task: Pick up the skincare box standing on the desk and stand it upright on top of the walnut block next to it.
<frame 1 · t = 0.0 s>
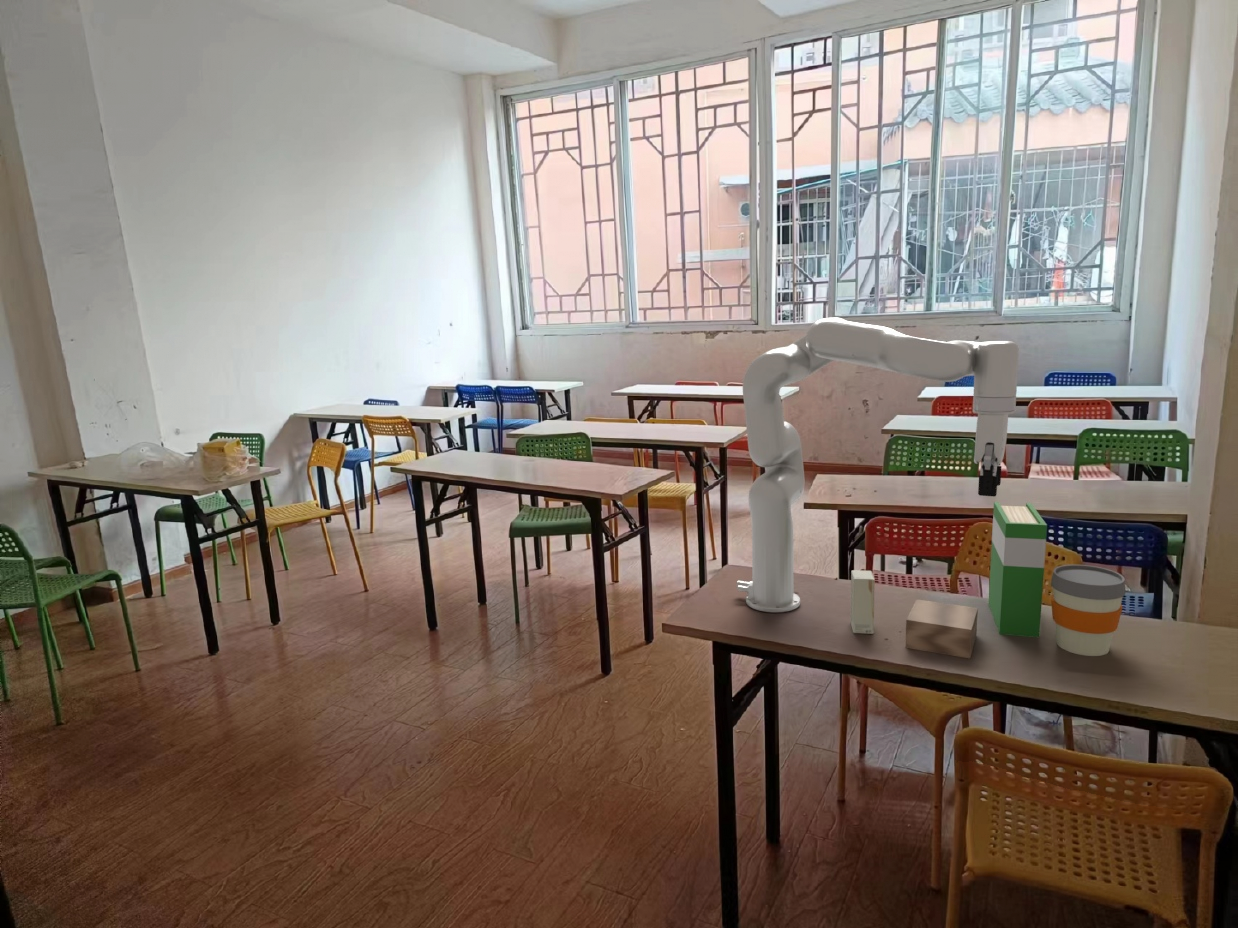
hand: (989, 490, 153), 31 cm above the table, tool pointing down, fingers open, 9 cm apart
walnut block: (941, 641, 158), on the table
hardback book: (1012, 619, 167), on the table
reusable coffee cup: (1082, 646, 153), on the table
skincare box: (861, 629, 166), on the table
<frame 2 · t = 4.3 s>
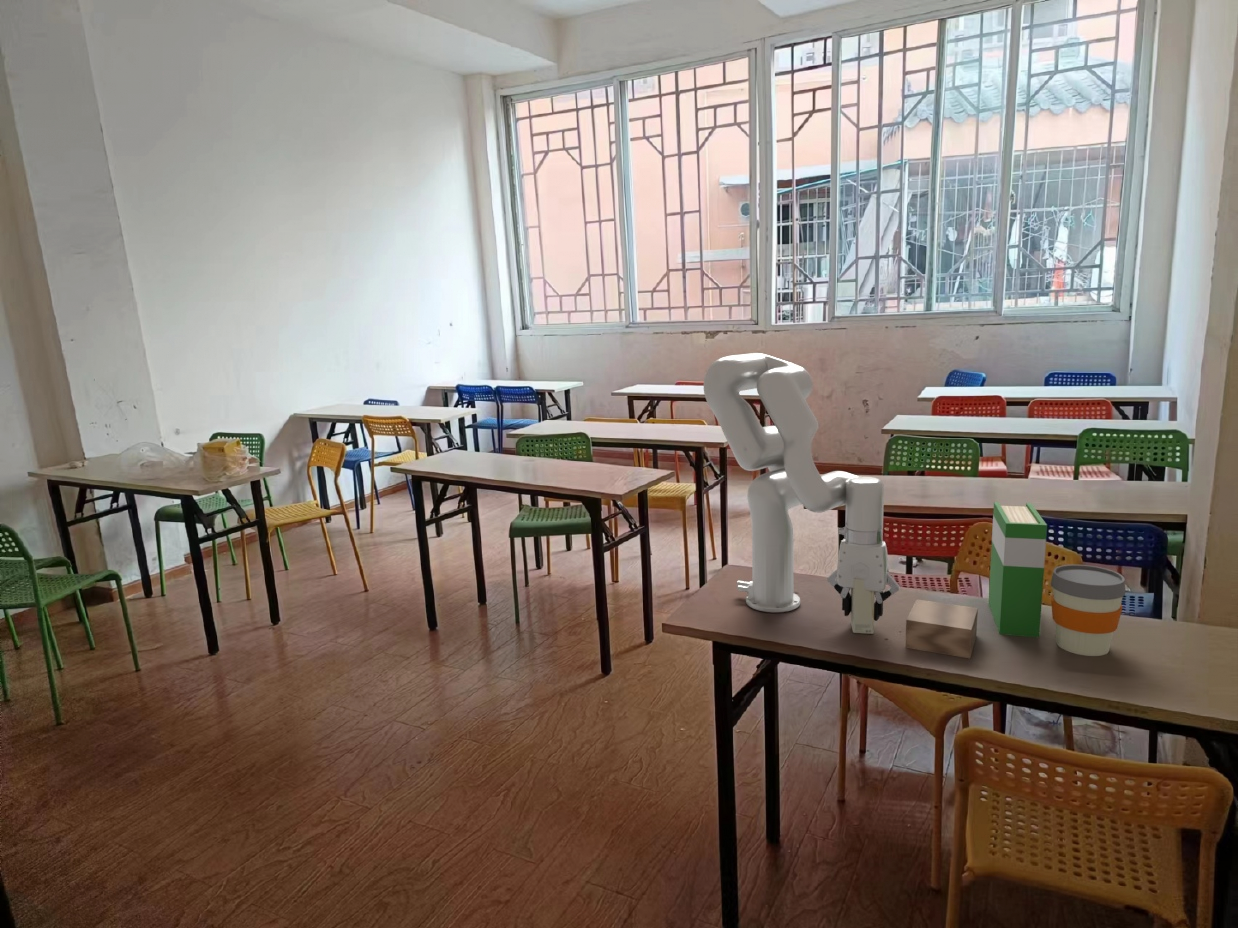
hand: (862, 615, 165), 3 cm above the table, tool pointing down, fingers closed on skincare box, 5 cm apart
skincare box: (861, 628, 166), on the table, touching gripper
everything else where it was.
when the fingers open (10 cm above the table, at t = 9.7 s): skincare box stays where it is, resting on walnut block.
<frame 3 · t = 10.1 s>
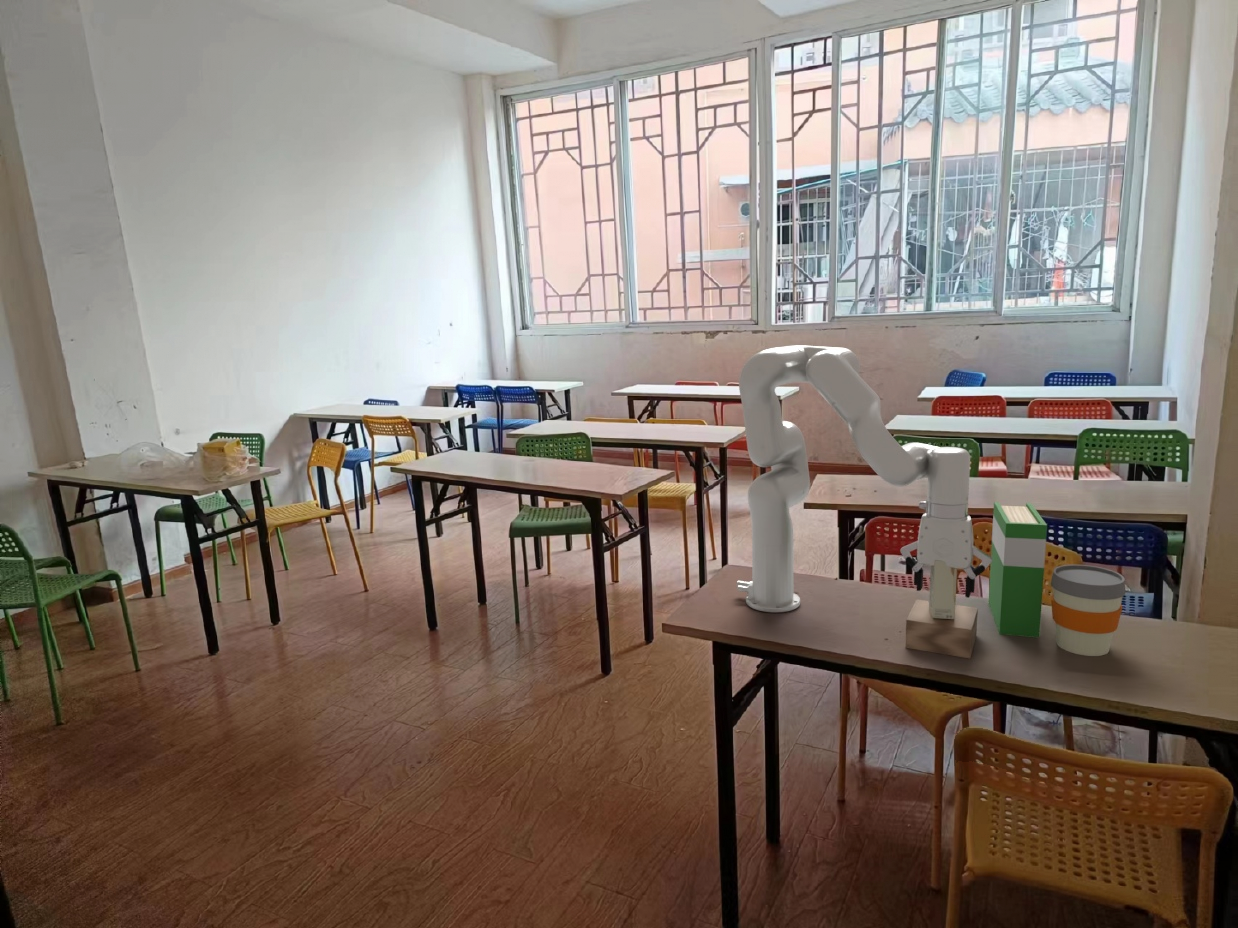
hand: (943, 591, 156), 11 cm above the table, tool pointing down, fingers open, 8 cm apart
skincare box: (941, 614, 157), point 6 cm above the table, touching walnut block
everything else where it was.
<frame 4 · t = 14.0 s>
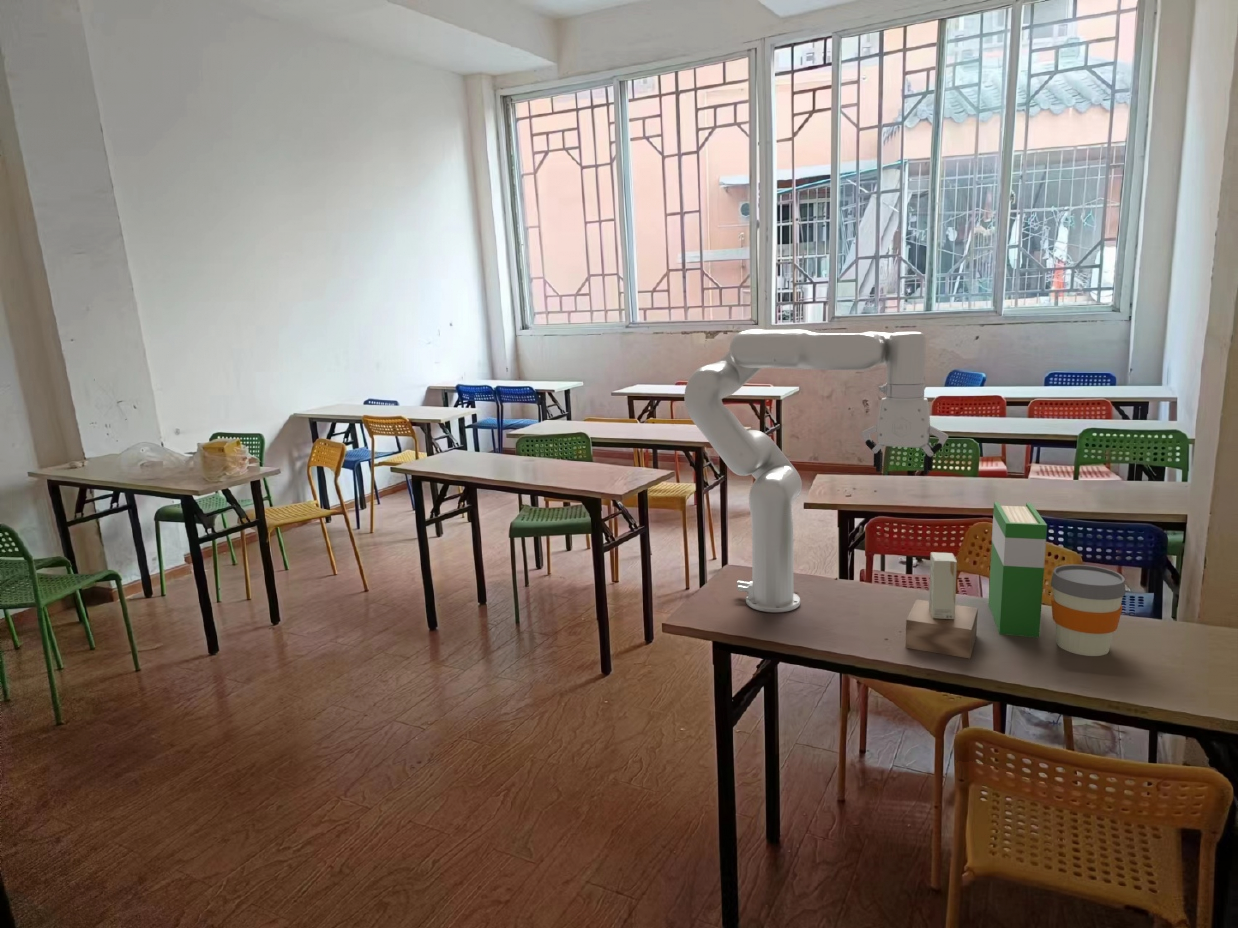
hand: (902, 472, 163), 33 cm above the table, tool pointing down, fingers open, 9 cm apart
nothing on the table moved.
at the end: skincare box 0.2 cm off-centre on the walnut block, point 5.8 cm above the walnut block's base; skincare box tilted 0°; the gripper is holding nothing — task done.
